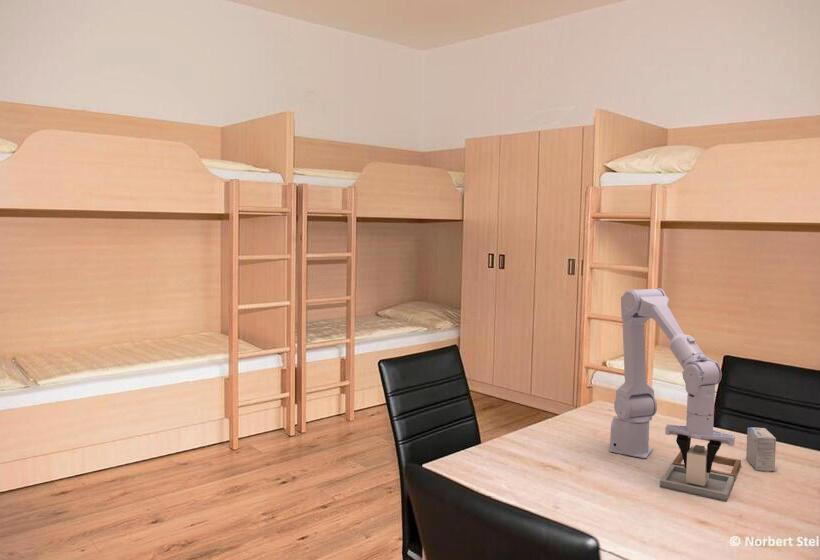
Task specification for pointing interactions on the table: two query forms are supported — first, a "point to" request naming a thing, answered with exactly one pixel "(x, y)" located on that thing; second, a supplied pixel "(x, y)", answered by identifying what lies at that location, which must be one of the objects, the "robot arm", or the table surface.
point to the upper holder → (718, 459)
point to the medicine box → (761, 449)
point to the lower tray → (714, 487)
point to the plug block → (697, 465)
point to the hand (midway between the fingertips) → (697, 469)
